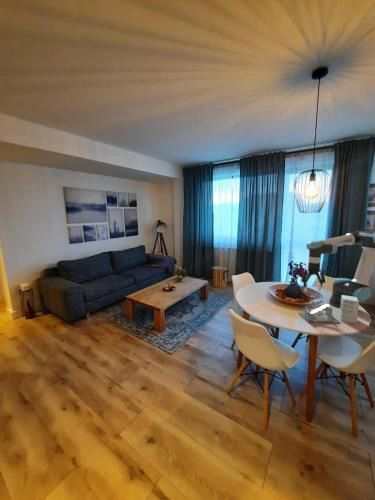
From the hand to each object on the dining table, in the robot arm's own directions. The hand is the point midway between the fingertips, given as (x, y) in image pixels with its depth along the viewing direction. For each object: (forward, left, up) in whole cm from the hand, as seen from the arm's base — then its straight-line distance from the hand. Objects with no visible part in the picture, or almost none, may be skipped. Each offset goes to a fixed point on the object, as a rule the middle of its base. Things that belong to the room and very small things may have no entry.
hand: (312, 291), depth 155 cm
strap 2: (-2, +8, -12) cm, 14 cm away
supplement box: (-23, +6, -20) cm, 31 cm away
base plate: (-3, +4, -19) cm, 20 cm away
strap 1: (-5, 0, -12) cm, 13 cm away
